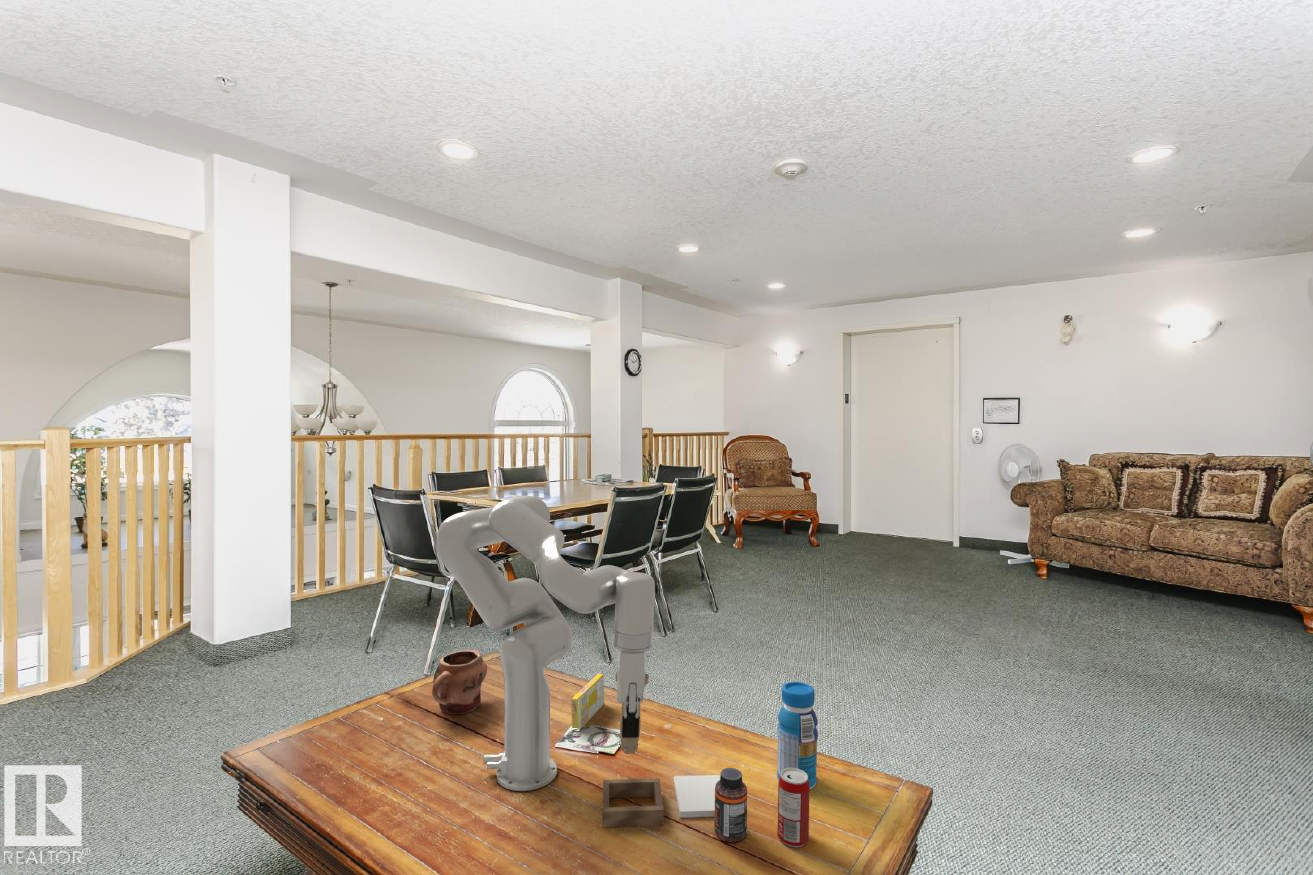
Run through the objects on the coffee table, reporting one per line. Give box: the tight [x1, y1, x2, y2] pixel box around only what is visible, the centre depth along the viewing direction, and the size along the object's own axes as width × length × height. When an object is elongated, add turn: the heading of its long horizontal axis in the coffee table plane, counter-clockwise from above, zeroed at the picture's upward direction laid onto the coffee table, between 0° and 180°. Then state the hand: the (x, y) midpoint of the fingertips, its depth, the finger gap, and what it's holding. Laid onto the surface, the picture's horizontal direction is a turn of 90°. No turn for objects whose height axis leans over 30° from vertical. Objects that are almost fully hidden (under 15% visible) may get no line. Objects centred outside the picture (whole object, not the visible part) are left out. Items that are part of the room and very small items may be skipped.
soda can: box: [777, 768, 811, 848], centre depth 114 cm, size 6×6×12 cm
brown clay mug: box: [431, 649, 488, 715], centre depth 163 cm, size 20×12×14 cm, turn 168°
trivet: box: [673, 774, 720, 819], centre depth 126 cm, size 12×12×1 cm
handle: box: [615, 671, 649, 755], centre depth 122 cm, size 5×6×15 cm
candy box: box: [570, 673, 605, 729], centre depth 161 cm, size 16×2×8 cm, turn 162°
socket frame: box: [601, 777, 665, 828], centre depth 122 cm, size 11×10×3 cm
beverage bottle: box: [776, 681, 819, 790], centre depth 133 cm, size 8×8×20 cm
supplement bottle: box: [713, 767, 748, 843], centre depth 116 cm, size 6×6×11 cm
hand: (629, 729), depth 122 cm, fingers closed on handle, 4 cm apart
